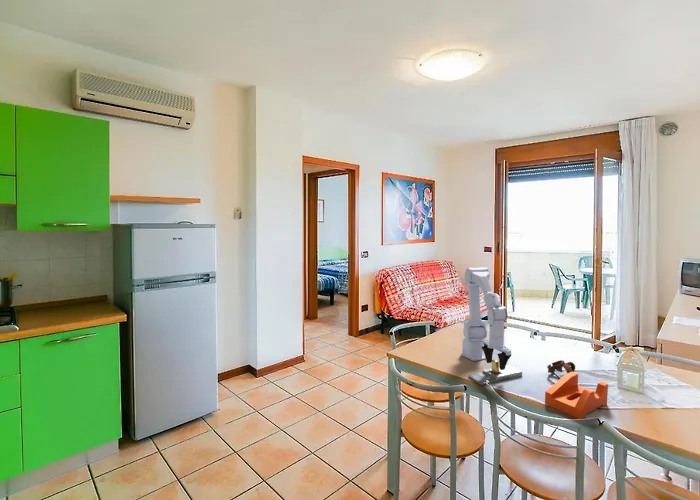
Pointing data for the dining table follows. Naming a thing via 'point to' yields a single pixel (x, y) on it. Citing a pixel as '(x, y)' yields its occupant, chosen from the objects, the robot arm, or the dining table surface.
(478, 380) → the white grey flat block
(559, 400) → the orange notched block
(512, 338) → the dining table surface
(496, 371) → the brass pin
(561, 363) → the brown jointed arch
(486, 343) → the robot arm
